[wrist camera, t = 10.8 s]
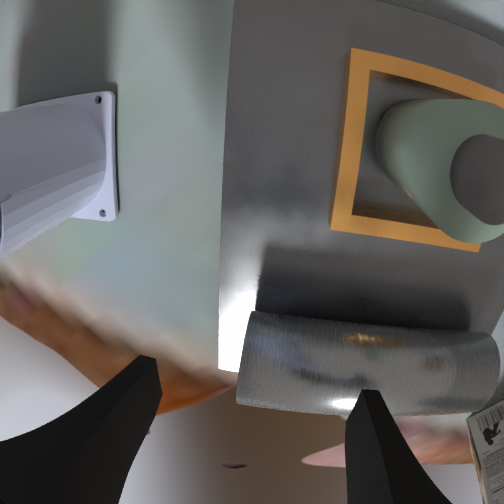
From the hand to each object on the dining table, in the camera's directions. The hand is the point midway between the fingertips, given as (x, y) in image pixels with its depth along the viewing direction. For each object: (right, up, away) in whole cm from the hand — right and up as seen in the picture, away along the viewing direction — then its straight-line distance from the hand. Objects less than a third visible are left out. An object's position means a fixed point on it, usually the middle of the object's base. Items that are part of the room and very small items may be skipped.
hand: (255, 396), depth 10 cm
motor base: (+8, +7, +6) cm, 12 cm away
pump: (+8, +10, +2) cm, 13 cm away
